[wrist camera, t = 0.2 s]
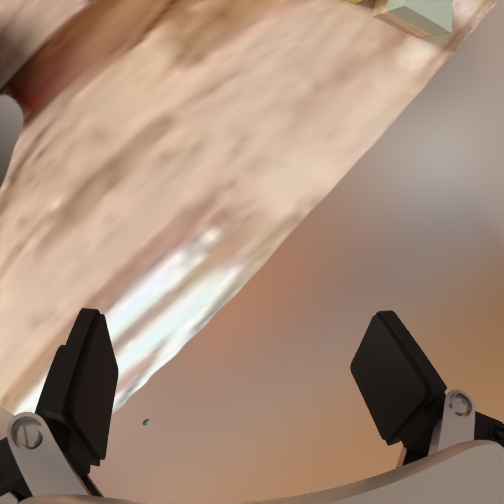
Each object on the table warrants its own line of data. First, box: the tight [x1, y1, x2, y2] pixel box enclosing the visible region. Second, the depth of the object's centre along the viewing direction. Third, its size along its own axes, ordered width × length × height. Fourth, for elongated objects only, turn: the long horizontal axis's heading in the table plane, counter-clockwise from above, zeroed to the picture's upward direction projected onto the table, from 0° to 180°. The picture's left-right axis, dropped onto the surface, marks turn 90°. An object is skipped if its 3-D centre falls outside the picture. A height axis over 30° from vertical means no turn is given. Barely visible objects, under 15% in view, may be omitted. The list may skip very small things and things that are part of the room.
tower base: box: [373, 0, 433, 38], centre depth 26 cm, size 8×8×4 cm
